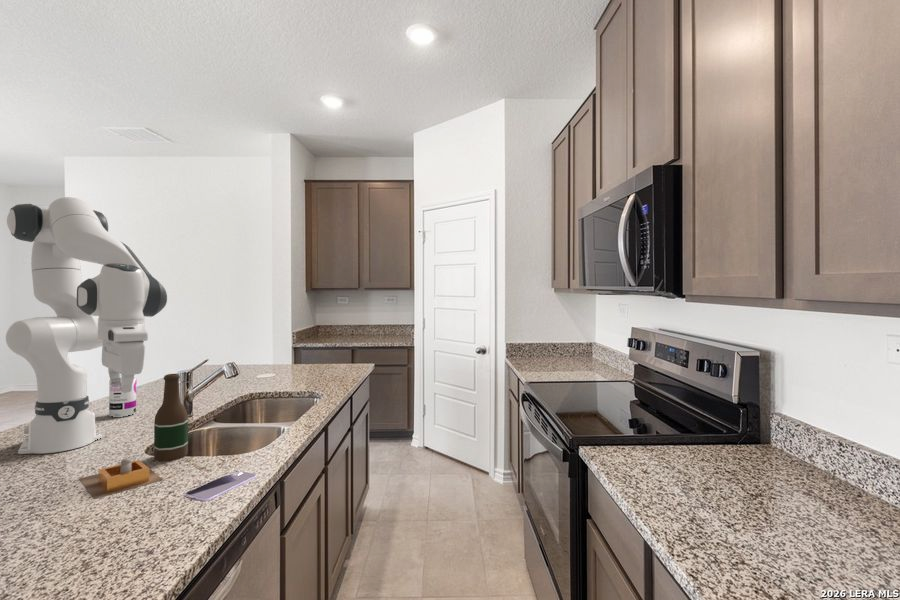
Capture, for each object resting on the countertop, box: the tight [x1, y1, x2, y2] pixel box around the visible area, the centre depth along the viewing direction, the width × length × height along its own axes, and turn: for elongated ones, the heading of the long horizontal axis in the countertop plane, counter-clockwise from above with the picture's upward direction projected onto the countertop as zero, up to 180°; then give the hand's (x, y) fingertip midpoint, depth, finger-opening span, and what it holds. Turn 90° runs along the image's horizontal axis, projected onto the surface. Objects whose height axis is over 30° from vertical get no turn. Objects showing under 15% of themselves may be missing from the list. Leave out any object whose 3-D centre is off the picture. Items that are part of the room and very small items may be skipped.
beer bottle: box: [153, 373, 189, 462], centre depth 117 cm, size 8×8×24 cm
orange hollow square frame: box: [97, 459, 150, 492], centre depth 101 cm, size 8×8×3 cm
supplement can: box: [108, 374, 137, 418], centre depth 162 cm, size 8×8×15 cm
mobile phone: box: [184, 470, 258, 502], centre depth 103 cm, size 8×1×15 cm
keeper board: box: [78, 457, 164, 500], centre depth 102 cm, size 16×13×8 cm
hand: (120, 388), depth 102 cm, fingers open, 8 cm apart
